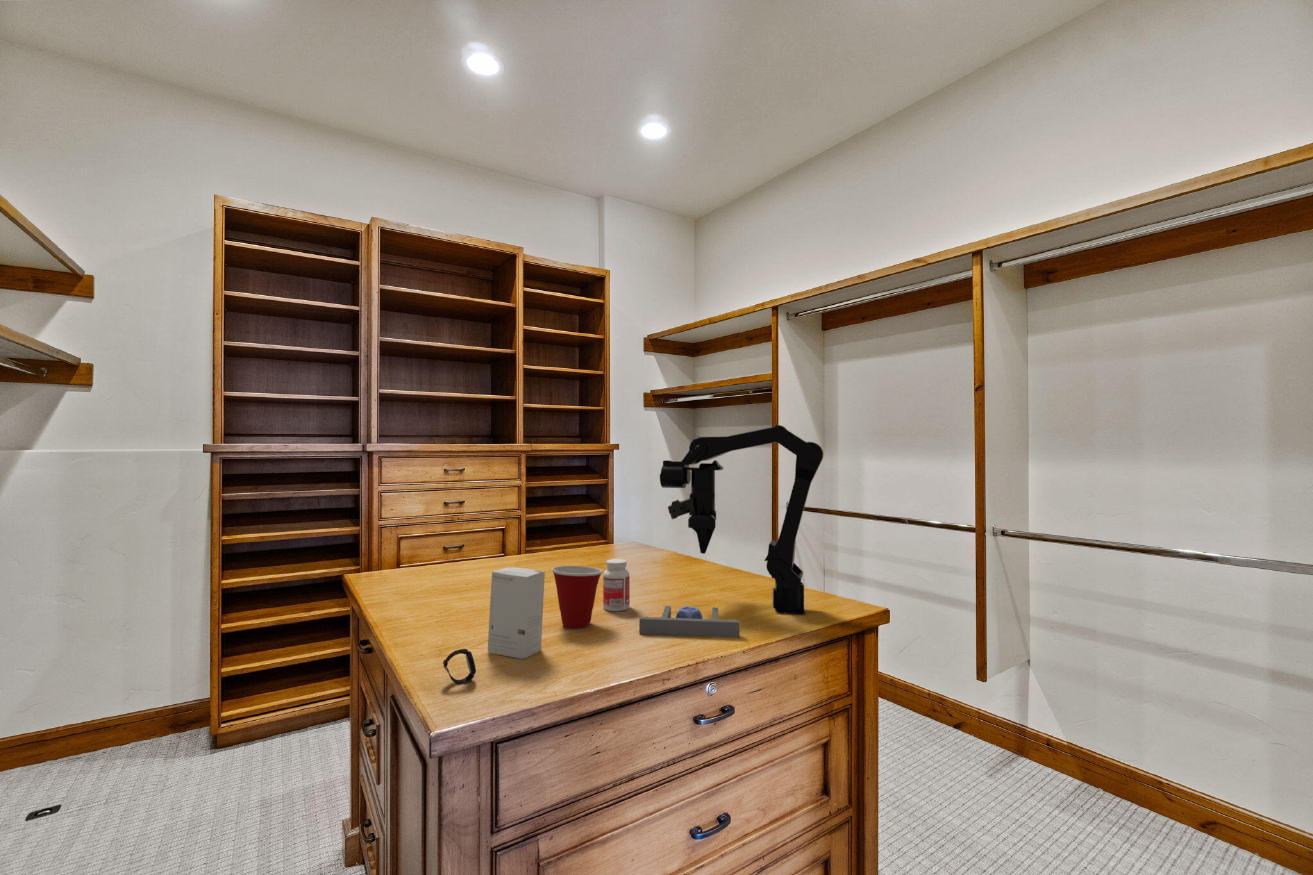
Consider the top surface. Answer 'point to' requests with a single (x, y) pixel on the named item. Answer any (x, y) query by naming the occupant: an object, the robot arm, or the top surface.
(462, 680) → the smartwatch
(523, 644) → the skincare box
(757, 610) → the top surface
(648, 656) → the top surface
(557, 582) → the plastic cup
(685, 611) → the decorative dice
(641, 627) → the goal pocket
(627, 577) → the pill bottle
